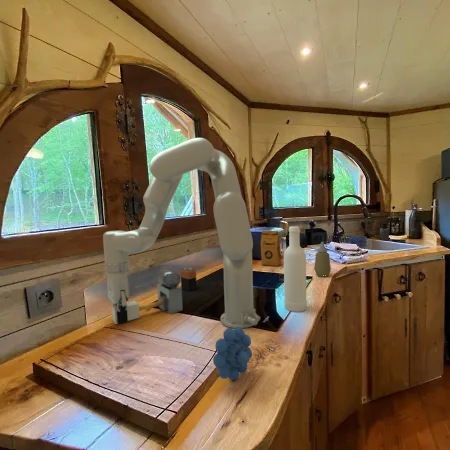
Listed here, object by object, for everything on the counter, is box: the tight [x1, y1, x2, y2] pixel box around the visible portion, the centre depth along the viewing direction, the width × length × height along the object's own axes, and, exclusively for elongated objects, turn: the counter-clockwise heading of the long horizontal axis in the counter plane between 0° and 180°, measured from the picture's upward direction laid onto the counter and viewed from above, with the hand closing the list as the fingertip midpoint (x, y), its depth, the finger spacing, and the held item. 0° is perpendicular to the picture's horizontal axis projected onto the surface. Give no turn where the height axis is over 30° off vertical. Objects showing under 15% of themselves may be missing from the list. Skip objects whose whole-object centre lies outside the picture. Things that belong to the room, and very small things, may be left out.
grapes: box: [212, 327, 253, 381], centre depth 57 cm, size 12×7×12 cm, turn 136°
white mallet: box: [111, 295, 167, 325], centre depth 95 cm, size 4×20×5 cm, turn 126°
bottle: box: [283, 225, 308, 313], centre depth 96 cm, size 8×8×30 cm
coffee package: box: [260, 230, 282, 267], centre depth 167 cm, size 10×12×22 cm
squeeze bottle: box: [313, 241, 332, 278], centre depth 138 cm, size 8×8×18 cm
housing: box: [156, 268, 183, 315], centre depth 101 cm, size 11×6×14 cm, turn 37°
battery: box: [180, 266, 198, 292], centre depth 124 cm, size 4×7×10 cm, turn 45°
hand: (120, 319), depth 91 cm, fingers closed on white mallet, 4 cm apart
